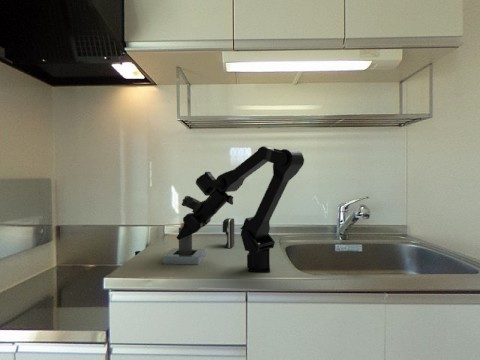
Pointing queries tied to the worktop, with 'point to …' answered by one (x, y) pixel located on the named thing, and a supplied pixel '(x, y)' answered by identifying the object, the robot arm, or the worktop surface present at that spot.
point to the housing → (184, 257)
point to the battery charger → (229, 232)
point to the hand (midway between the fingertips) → (181, 236)
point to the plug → (185, 244)
